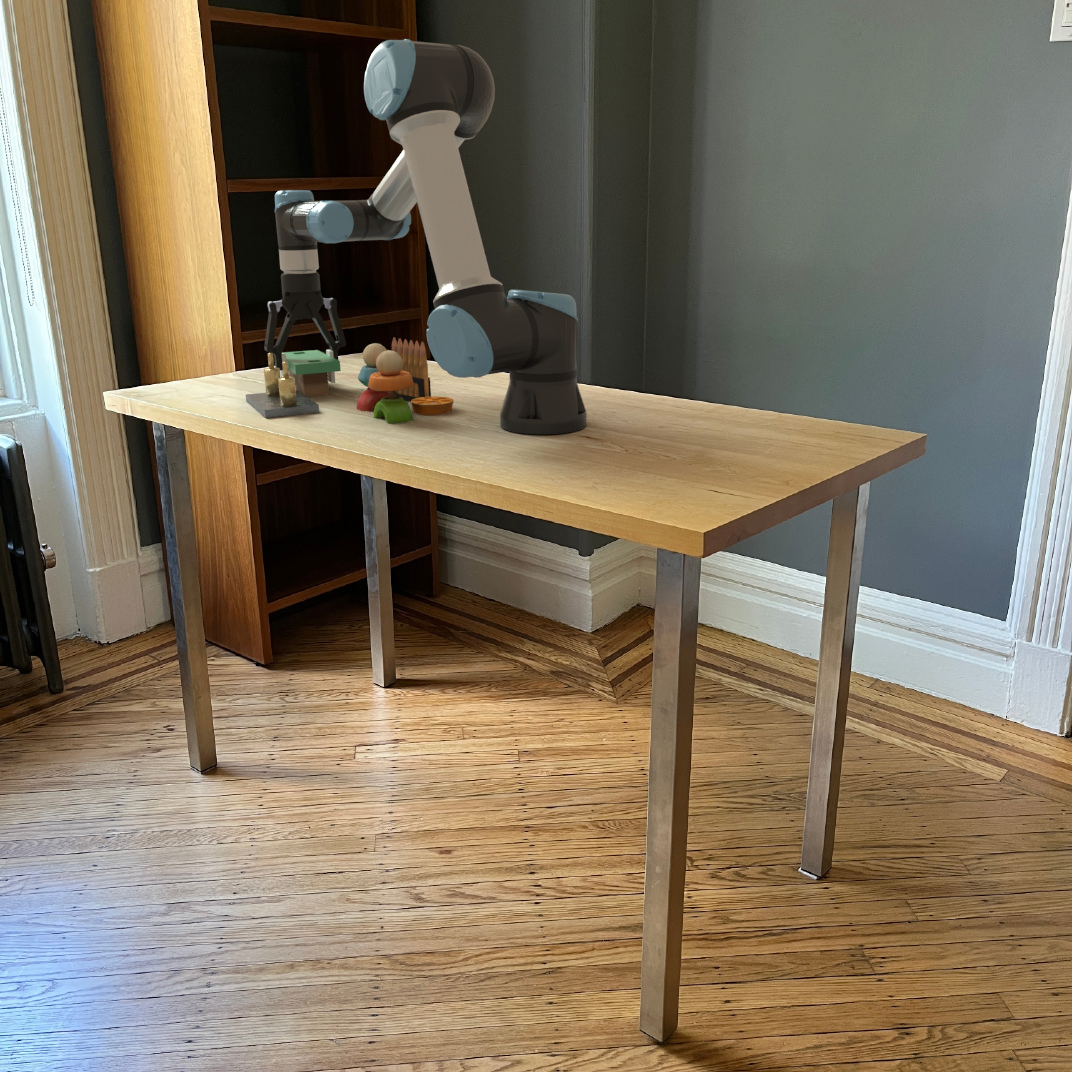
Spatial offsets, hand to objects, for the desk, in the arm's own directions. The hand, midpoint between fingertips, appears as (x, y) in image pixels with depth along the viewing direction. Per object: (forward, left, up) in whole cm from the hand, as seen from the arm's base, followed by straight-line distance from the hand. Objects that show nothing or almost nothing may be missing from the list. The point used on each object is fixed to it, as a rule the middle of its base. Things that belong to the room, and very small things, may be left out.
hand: (308, 383), depth 215 cm
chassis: (-14, +9, -1) cm, 17 cm away
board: (0, 0, +4) cm, 4 cm away
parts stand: (0, 0, -1) cm, 1 cm away
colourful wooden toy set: (-28, -10, -2) cm, 30 cm away
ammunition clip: (-20, -15, -2) cm, 25 cm away
